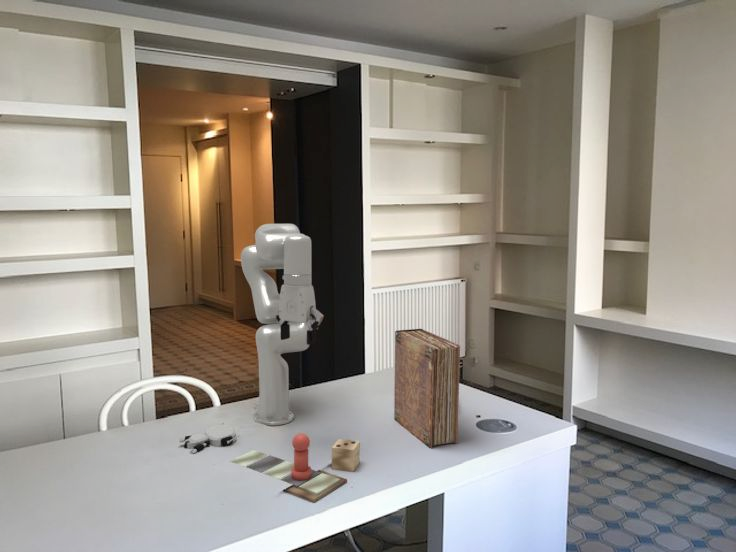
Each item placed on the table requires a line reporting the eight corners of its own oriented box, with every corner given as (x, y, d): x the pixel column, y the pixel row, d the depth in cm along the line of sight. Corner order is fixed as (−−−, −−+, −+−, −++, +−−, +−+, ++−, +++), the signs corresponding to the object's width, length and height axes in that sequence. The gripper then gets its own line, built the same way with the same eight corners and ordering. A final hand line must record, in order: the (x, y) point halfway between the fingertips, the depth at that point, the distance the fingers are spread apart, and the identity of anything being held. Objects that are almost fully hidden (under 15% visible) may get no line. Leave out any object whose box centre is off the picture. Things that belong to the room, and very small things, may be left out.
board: (222, 467, 158) (221, 462, 158) (257, 451, 169) (257, 446, 169) (313, 502, 140) (313, 497, 140) (346, 482, 151) (346, 476, 151)
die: (331, 469, 158) (331, 447, 157) (338, 459, 164) (338, 438, 163) (353, 471, 157) (353, 449, 156) (359, 462, 162) (359, 440, 162)
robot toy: (192, 463, 163) (243, 447, 172) (190, 448, 162) (241, 432, 171) (178, 448, 173) (226, 433, 182) (176, 434, 172) (225, 419, 181)
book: (457, 444, 175) (460, 345, 172) (430, 449, 172) (432, 347, 168) (418, 416, 198) (420, 328, 195) (393, 419, 195) (395, 330, 191)
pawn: (287, 477, 150) (286, 434, 149) (300, 470, 154) (300, 428, 153) (302, 482, 147) (301, 439, 146) (315, 475, 151) (315, 433, 150)
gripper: (265, 279, 164) (266, 339, 166) (313, 284, 155) (313, 348, 157) (283, 276, 171) (284, 335, 173) (331, 281, 161) (330, 343, 163)
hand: (298, 341), depth 165 cm, fingers open, 9 cm apart
